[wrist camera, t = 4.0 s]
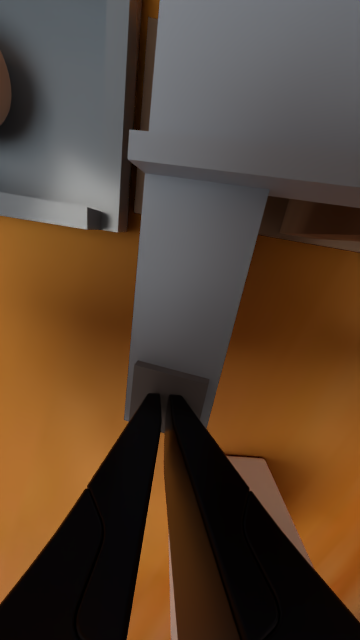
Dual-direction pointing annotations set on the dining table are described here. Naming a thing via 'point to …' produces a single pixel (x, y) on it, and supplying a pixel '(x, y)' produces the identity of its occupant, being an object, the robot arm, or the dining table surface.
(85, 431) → the dining table surface
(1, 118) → the ball
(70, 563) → the robot arm
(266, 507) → the jar
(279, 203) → the catapult base
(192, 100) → the lever
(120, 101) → the grey open box
